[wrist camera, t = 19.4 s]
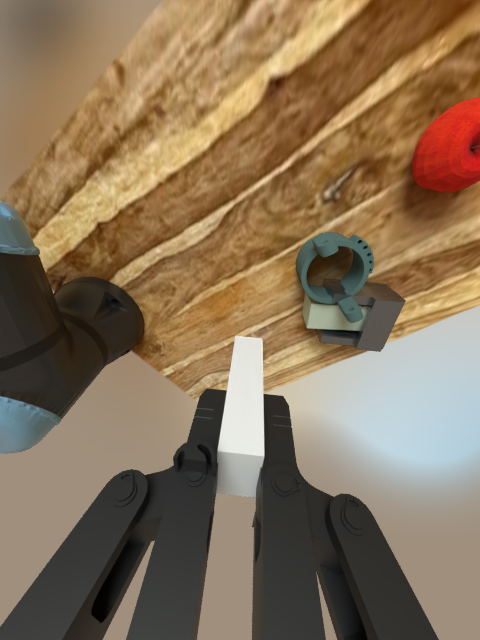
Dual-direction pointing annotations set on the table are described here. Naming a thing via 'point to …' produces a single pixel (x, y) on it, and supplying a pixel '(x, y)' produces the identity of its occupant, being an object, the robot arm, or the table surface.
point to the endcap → (377, 318)
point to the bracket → (351, 281)
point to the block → (328, 316)
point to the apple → (450, 150)
